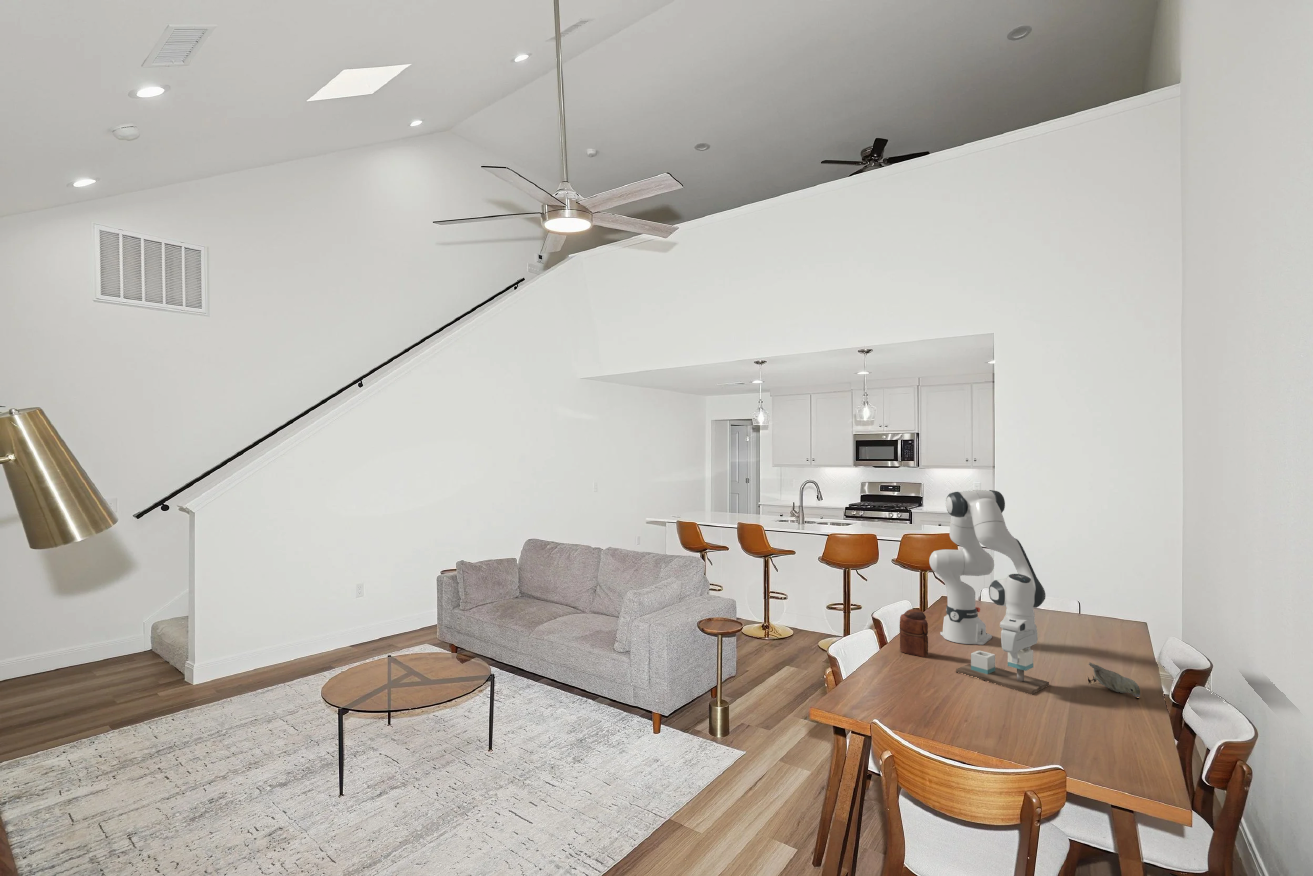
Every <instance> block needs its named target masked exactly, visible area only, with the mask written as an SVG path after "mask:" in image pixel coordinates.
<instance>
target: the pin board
mask: <svg viewBox="0 0 1313 876" xmlns="http://www.w3.org/2000/svg"><path fill="white" fill-rule="evenodd" d="M983 656H984V655H983ZM955 671H956V673H957V672H959V673H958V674H960V673H963V674H962V675H964V674H966V675H965V676H967V675H969V676H968V677H970V676H973V677H972V678H974V677H977V678H979V679H978V680H980V679H982V680H981V681H984V680H985V681H984V682H987V681H989V682H988V683H990V682H992V683H991V684H994V683H996V684H995V685H997V684H998V686H1001V685H1002V686H1001V687H1004V686H1006V687H1005V688H1007V687H1009V688H1008V689H1011V690H1014V689H1015V690H1014V691H1017V690H1018V692H1021V693H1024V692H1025V693H1024V694H1027V693H1028V694H1027V695H1031V694H1032V695H1034V694H1036V693H1038V692H1040V691H1041V690H1043V689H1045V688H1047V687H1049V686H1050V681H1047V680H1044V679H1039V678H1036V677H1033V676H1028V675H1025V670H1021V669H1017V668H1016V672H1014V671H1011V670H1007V669H1005V668H1004V669H1003V668H1000V667H997V666H995V671H994V672H992V673H989V674H985V673H981V672H978V671H974V670H971V662H970V663H968V664H965V665H963V666H960V667H958V668H956V669H955ZM977 678H976V679H977ZM1048 685H1049V686H1048ZM1046 686H1047V687H1046ZM1044 687H1045V688H1044ZM1039 690H1040V691H1039ZM1037 691H1038V692H1037ZM1035 692H1036V693H1035ZM1033 693H1034V694H1033Z"/></svg>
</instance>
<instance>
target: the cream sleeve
mask: <svg viewBox="0 0 1313 876" xmlns="http://www.w3.org/2000/svg"><path fill="white" fill-rule="evenodd" d="M1017 655H1018V658H1019V663H1013V662H1012V656H1011V654H1010V653H1009V652H1007V667H1010V668H1013V669H1016V670H1017V669H1021V670H1024V672H1025V671H1028V670H1030V669H1032V668H1034V649H1031V648H1030V649H1026V648H1024V649H1022V650H1020V651H1018V654H1017Z"/></svg>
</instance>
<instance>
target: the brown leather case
mask: <svg viewBox="0 0 1313 876" xmlns="http://www.w3.org/2000/svg"><path fill="white" fill-rule="evenodd" d="M926 619H927V616H926V615H925V613H924V612H923V611H921V610H920V609H915V608H910V609H908V610H906V611H905V612H904V613H903V614H901V615H900V618H899V651H900V652H901V653H904V654H908V655H912V656H917V657H922V658H928V657H929V656H928V655H929V636H928V635H929V624H928V620H926Z"/></svg>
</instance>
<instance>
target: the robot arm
mask: <svg viewBox="0 0 1313 876" xmlns="http://www.w3.org/2000/svg"><path fill="white" fill-rule="evenodd" d="M945 506H946V507H945V508H946V511H947V513H948V514H949V515H950V522H949V523H950V525H949V538H950V540H951V541H952V542H953V543H954V544H955V545H958V546H959V547H962V549H948V548H947V549H945V548H944V549H938V550H933V552H931V554H930V556H929V558H928V559H929V560H928V561H929V562H928V563H929V566H930V568H931V570H932V571H933V572H934V573H936V574H937V575H938V576H939V577H940V578H941V579H942V581H943V583H944V585H945V587H946V596H947V597H946V599H947V605H946V608H945V611H946V615H944V616H943V624H942V631H940V632H939V634H940V635H941V636H942V638H944V639H945V640H947V641H948V642H949V641H950V642H953V643H957V644H965V645H979V646H981V645H982V646H983V645H985V644H986V643H988V642H989V641H990V640H991V639H992V638H993V635H992V634H990V633H988V632H987V628H986V627H987V625H986V623H985V622H984V621H983V620H982V619H981V618H980V617H979V615H978V613H980V612H981V607H978V606H976V590H975V589H974V587H972V586H971V585H970V584H968V583H966V582H965V581H962V580H961V576H965V577H966V576H970V577H972V576H973V577H981V576H988V575H991V573H992V572H993V571H994V569H995V560H994V558H993V556H991V554H990V553H989V552H988V551H986V550H985V549H984V548H983V547H985V548H987V549H989V550H990V551H991V550H992V551H994V552H998V553H1000V554H1003V555H1005V556H1006V557H1008V558H1009V560H1011V561H1012V563H1013V565H1014V567H1015V570H1016V572H1017V573H1010V574H1007V576H1006V577H1005V578H1001V579H994V580H993V581H992V582H991V583H990V585H989V587H988V595H989V599H990V600H991V601H992V602H993V604H995V605H996V606H1000V607H1005V608H1006V609H1005V615H1004V617H1003V619H1002V620H1001V621H1000V622H999V627H1000V629H1001V631H1000V642H1001V649H1002V651H1003V652H1006V653H1008V652H1009V653H1010V654H1011V656H1012V662H1013V663H1019V658H1018V655H1017V654H1018V651H1020V650H1022V649H1024V648H1026V649H1030V650H1031V647H1032V646H1033V645H1037V643H1038V638H1039V637H1038V629H1037V625H1036V621H1035V619H1036V618H1035V615H1036V614H1035V611H1034V609H1036V608H1039V607H1040V606H1042V604H1043V603H1044V602H1045V600H1046V592H1045V588H1044V586H1043V585H1042V583H1041V582H1040V580H1039V578H1038V577H1037V574H1036V573H1035V571H1034V568H1033V566H1032V564H1031V562H1030V560H1029V558H1028V555H1027V553H1026V551H1025V549H1024V547H1023V545H1022V544H1021V542H1020V540H1019V539H1018V538H1016V537H1014V536H1013V535H1012V533H1011V532H1010V530H1009V529H1008V527H1007V525H1006V522H1005V518H1004V516H1003V512H1004V511H1005V508H1006V501H1005V498H1004V495H1003V494H1002V493H1001V492H1000V491H998V490H993V489H989V490H986V489H985V490H983V489H982V490H981V489H972V490H965V491H964V490H963V491H954V492H953V491H952V492H950V493H949V494H948V495H947V496H946V498H945ZM981 545H982V546H983V547H982V546H981Z"/></svg>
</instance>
